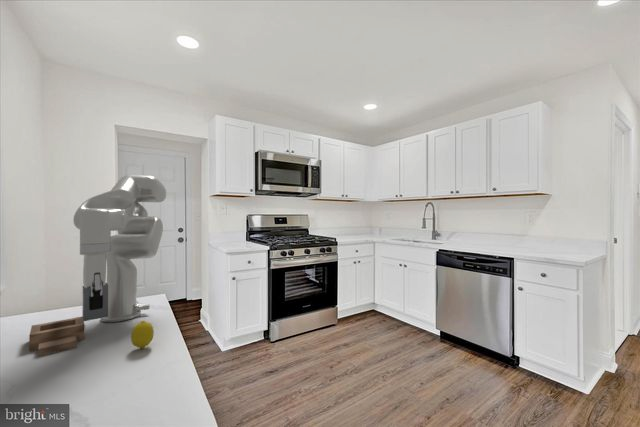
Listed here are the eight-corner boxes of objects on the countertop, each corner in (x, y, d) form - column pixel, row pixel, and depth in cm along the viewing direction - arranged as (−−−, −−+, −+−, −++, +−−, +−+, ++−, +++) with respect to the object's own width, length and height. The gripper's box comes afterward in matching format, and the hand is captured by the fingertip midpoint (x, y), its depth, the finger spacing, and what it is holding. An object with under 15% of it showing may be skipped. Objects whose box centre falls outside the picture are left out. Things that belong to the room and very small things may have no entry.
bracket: (106, 313, 91) (106, 282, 91) (108, 316, 88) (108, 284, 88) (82, 318, 87) (82, 286, 87) (83, 321, 84) (83, 288, 84)
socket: (81, 325, 99) (81, 312, 99) (85, 345, 83) (86, 330, 83) (32, 334, 91) (33, 320, 91) (27, 358, 75) (27, 342, 75)
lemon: (142, 354, 78) (143, 325, 78) (125, 352, 79) (126, 323, 79) (157, 345, 83) (158, 318, 84) (142, 343, 84) (142, 317, 85)
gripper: (78, 246, 91) (78, 303, 91) (81, 253, 79) (81, 318, 79) (107, 245, 96) (107, 298, 96) (114, 250, 84) (114, 311, 84)
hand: (95, 306), depth 87 cm, fingers closed on bracket, 3 cm apart
